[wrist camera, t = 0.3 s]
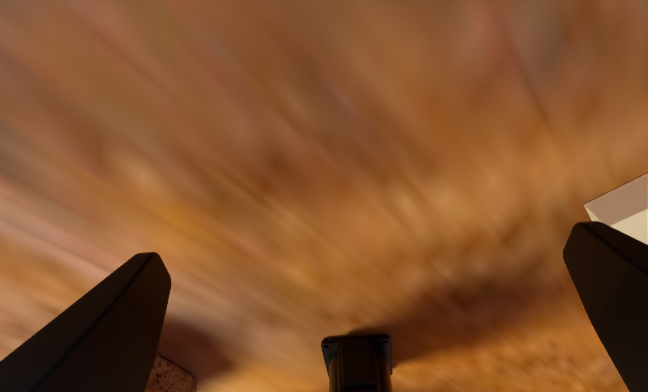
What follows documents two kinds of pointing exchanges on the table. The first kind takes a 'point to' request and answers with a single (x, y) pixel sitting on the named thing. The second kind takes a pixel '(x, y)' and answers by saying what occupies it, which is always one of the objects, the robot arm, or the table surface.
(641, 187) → the block
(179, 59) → the table surface
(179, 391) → the bread
